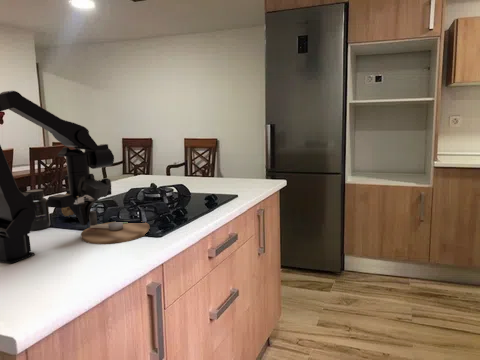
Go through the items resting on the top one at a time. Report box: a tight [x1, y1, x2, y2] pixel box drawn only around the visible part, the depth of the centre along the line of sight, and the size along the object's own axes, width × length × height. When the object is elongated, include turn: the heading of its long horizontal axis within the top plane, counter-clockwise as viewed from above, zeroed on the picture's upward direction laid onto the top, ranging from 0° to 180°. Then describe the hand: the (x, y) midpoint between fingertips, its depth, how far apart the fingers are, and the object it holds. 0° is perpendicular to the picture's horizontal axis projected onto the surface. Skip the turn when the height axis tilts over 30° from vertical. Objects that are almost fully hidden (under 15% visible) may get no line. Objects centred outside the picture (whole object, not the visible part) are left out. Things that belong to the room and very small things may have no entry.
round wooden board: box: [80, 221, 150, 245], centre depth 110 cm, size 19×19×1 cm
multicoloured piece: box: [88, 210, 123, 230], centre depth 111 cm, size 10×4×5 cm, turn 78°
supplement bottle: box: [25, 189, 51, 231], centre depth 119 cm, size 7×7×12 cm
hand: (84, 225), depth 109 cm, fingers closed
